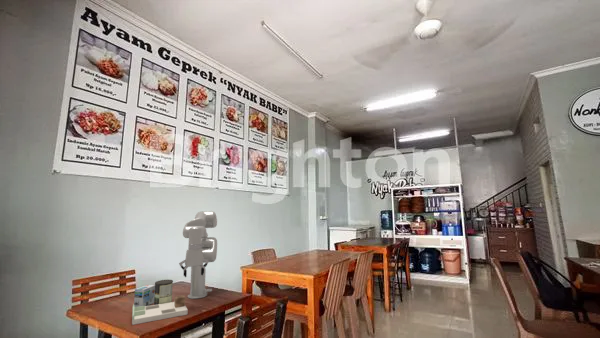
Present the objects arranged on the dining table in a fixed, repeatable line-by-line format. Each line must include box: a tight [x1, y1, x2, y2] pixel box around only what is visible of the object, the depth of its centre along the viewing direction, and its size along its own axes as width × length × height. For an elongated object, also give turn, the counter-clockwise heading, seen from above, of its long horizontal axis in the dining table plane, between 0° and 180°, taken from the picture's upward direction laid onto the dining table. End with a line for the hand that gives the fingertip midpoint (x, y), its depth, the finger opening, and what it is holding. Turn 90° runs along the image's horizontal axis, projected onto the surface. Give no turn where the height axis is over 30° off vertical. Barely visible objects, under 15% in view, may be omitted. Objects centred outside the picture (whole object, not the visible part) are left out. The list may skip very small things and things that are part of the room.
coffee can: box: [153, 279, 174, 305], centre depth 177 cm, size 10×10×14 cm
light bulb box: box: [133, 284, 155, 307], centre depth 178 cm, size 11×7×11 cm, turn 169°
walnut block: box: [174, 294, 186, 308], centre depth 167 cm, size 5×5×5 cm
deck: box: [131, 301, 189, 326], centre depth 161 cm, size 27×20×4 cm
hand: (193, 275), depth 173 cm, fingers open, 9 cm apart
